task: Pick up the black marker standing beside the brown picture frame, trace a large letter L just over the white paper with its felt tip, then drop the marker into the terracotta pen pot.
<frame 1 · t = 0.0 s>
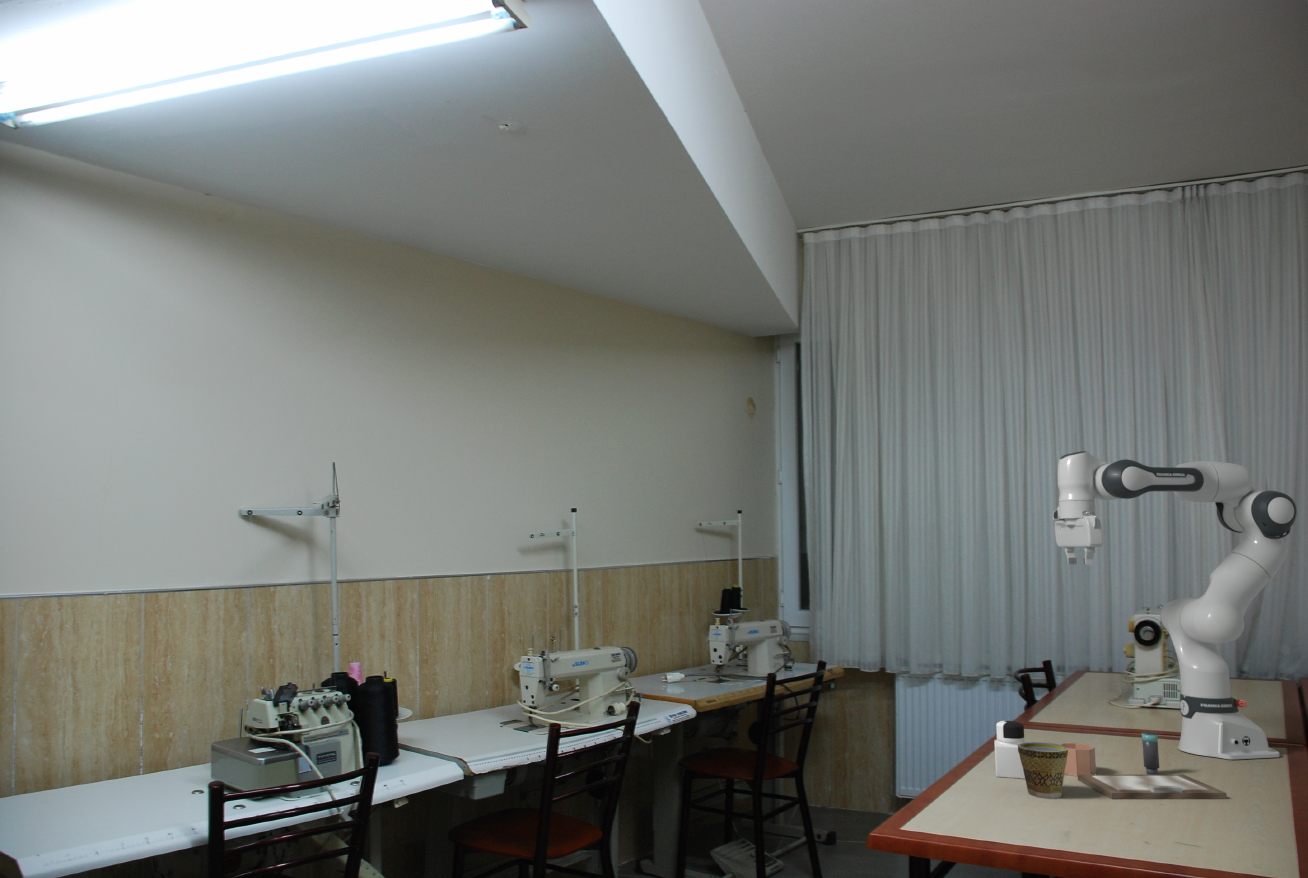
hand: (1080, 564, 245), 48 cm above the table, tool pointing down, fingers open, 8 cm apart
ceramic cup: (1040, 793, 199), on the table
brown picture frame: (1149, 788, 202), on the table
marker: (1152, 773, 216), on the table
pen pot: (1077, 772, 217), on the table
medicine bottle: (1012, 775, 215), on the table
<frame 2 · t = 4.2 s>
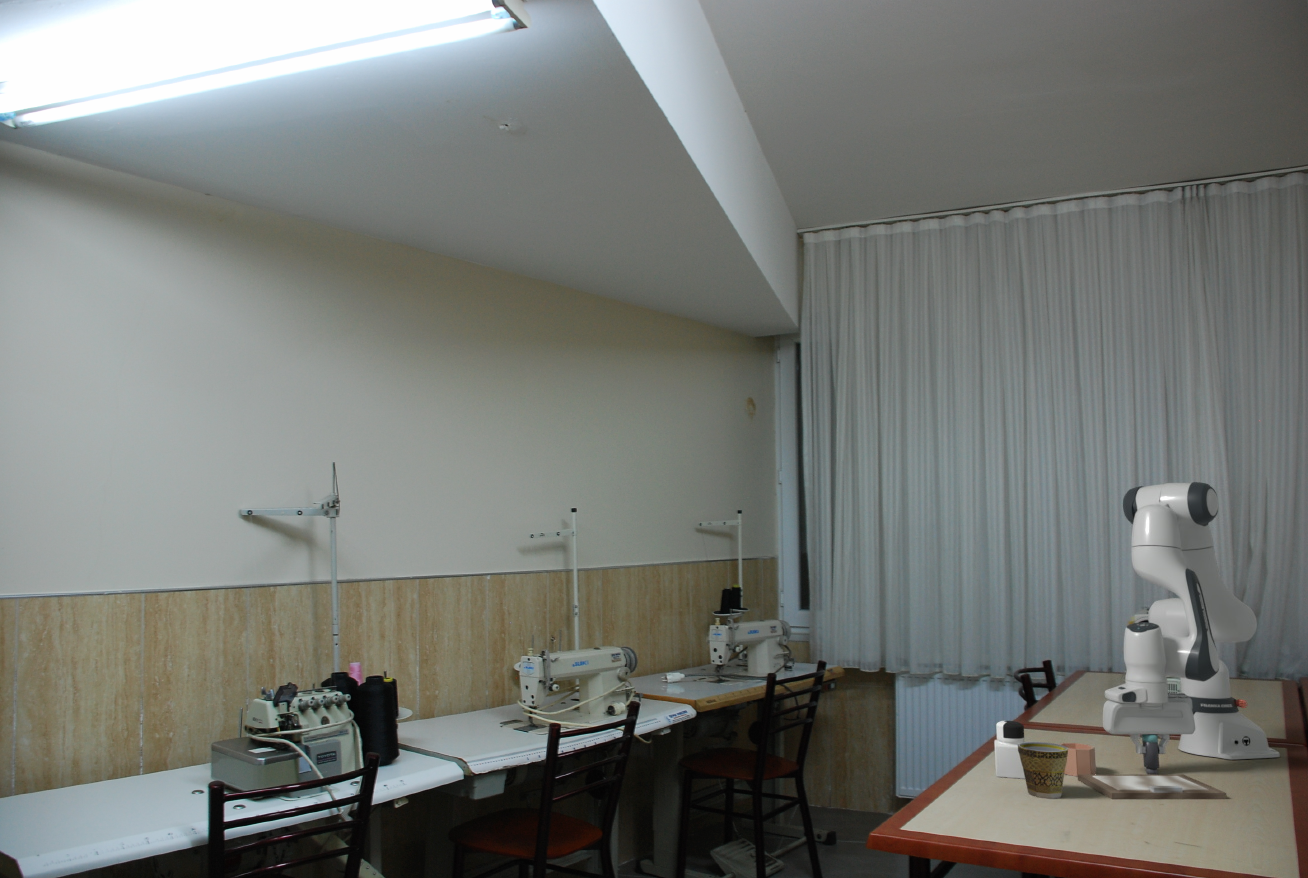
hand: (1150, 753, 217), 5 cm above the table, tool pointing down, fingers closed on marker, 3 cm apart
marker: (1152, 773, 216), on the table, touching gripper
everything else where it was.
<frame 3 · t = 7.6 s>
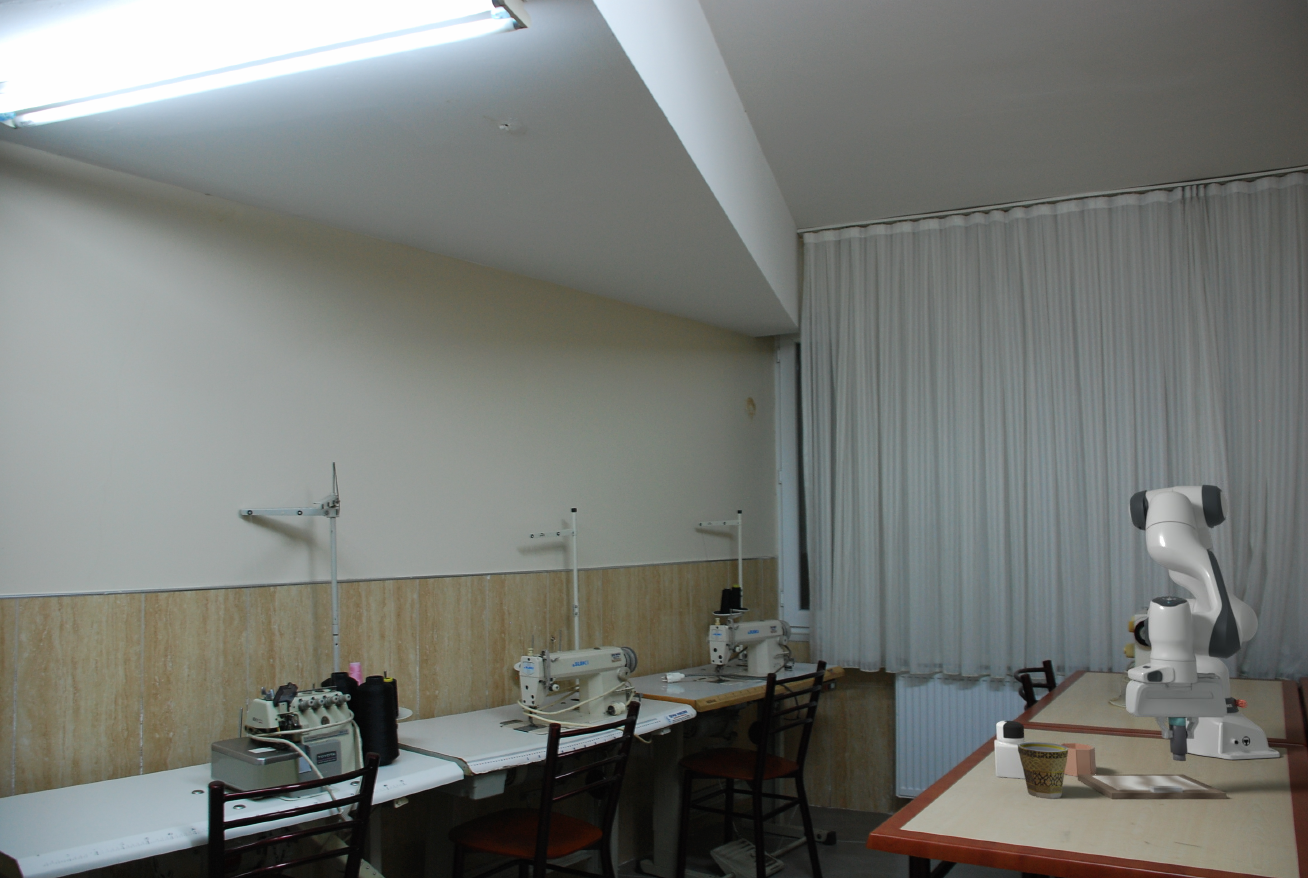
hand: (1178, 738, 200), 12 cm above the table, tool pointing down, fingers closed on marker, 3 cm apart
marker: (1179, 759, 199), point 7 cm above the table, touching gripper
everything else where it was.
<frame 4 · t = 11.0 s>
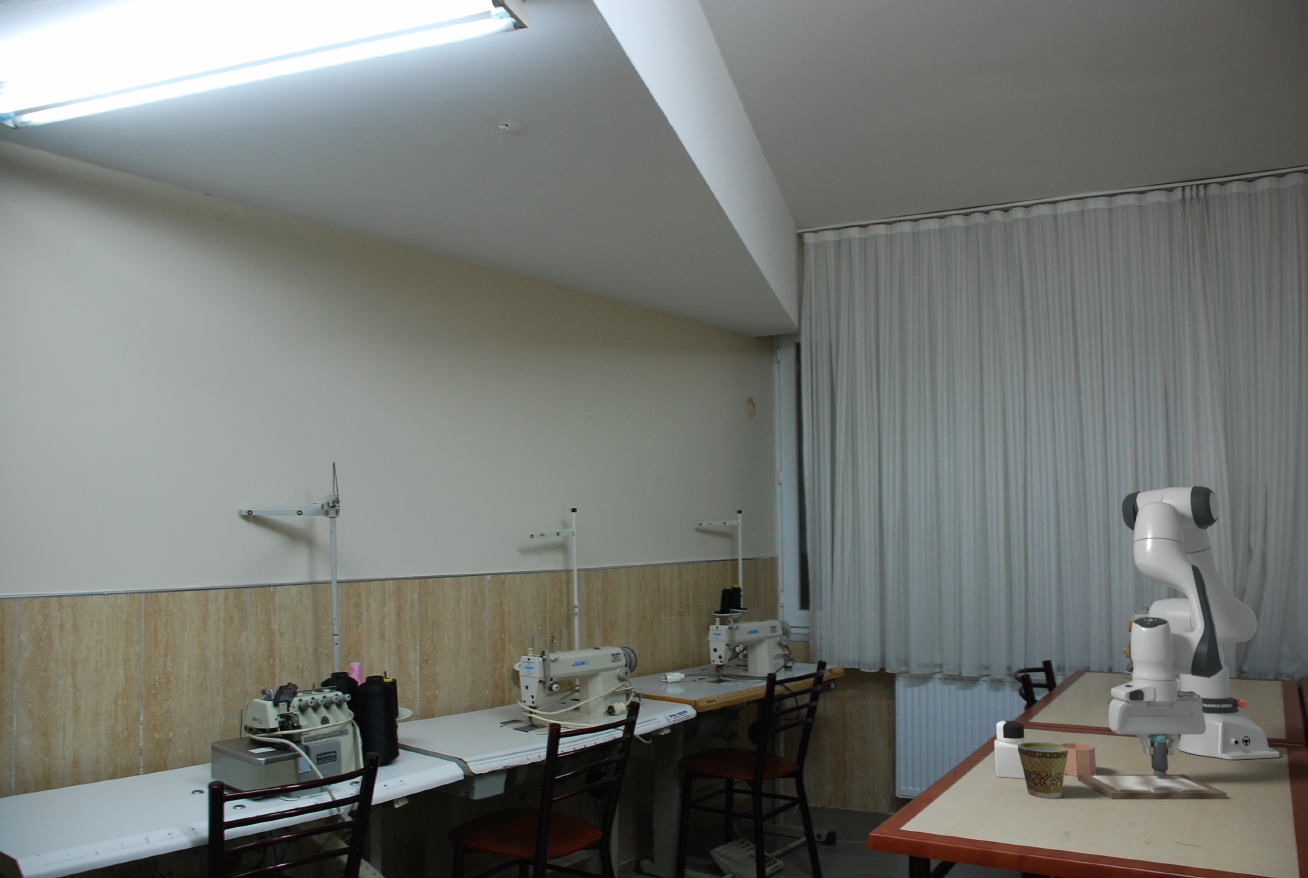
hand: (1158, 754, 207), 6 cm above the table, tool pointing down, fingers closed on marker, 3 cm apart
marker: (1160, 775, 206), point 2 cm above the table, touching gripper
everything else where it was.
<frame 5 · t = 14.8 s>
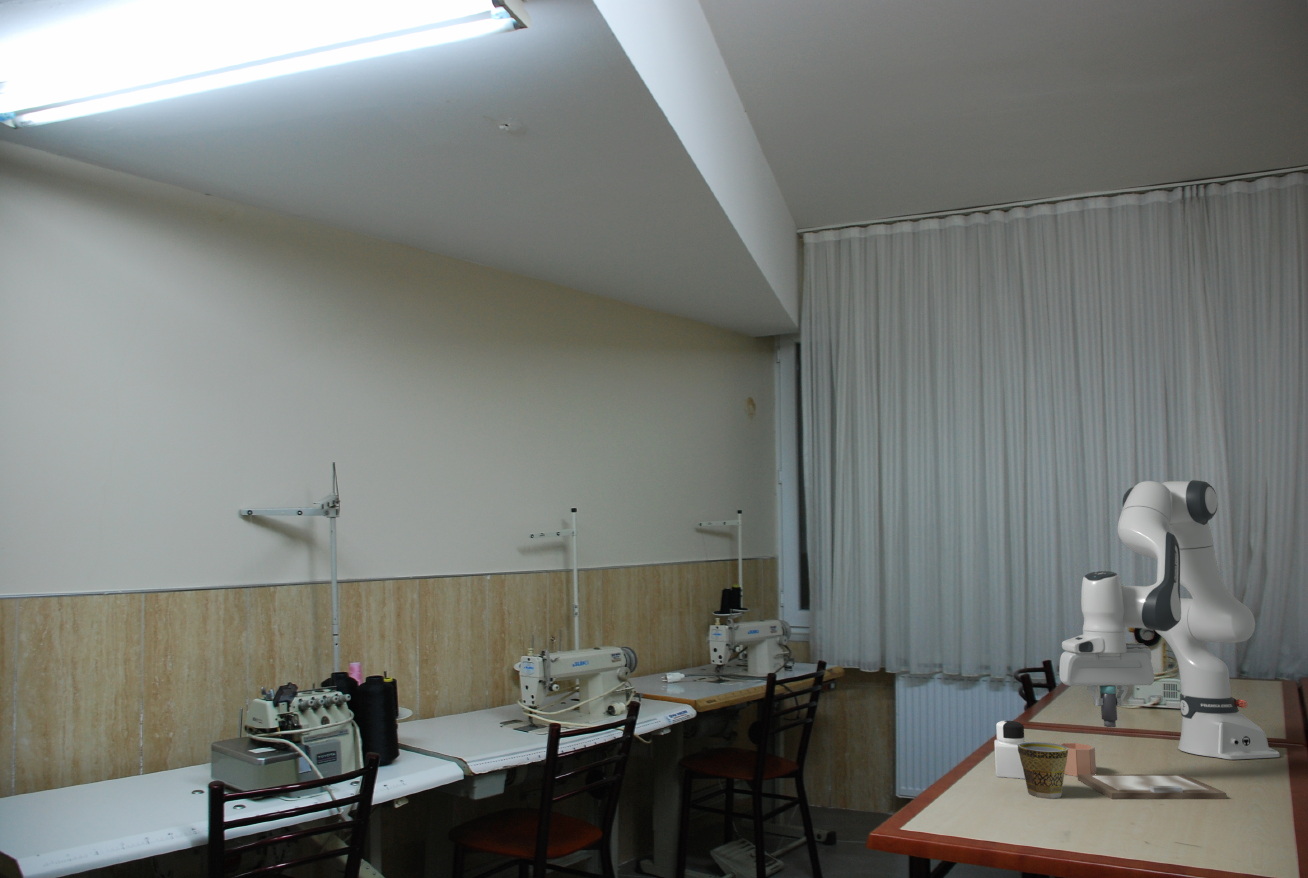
hand: (1108, 705, 210), 17 cm above the table, tool pointing down, fingers closed on marker, 3 cm apart
marker: (1109, 726, 209), point 12 cm above the table, touching gripper
everything else where it was.
when the fingers open (9 cm above the table, at t = 18.3 s): marker drops 4 cm, resting on pen pot.
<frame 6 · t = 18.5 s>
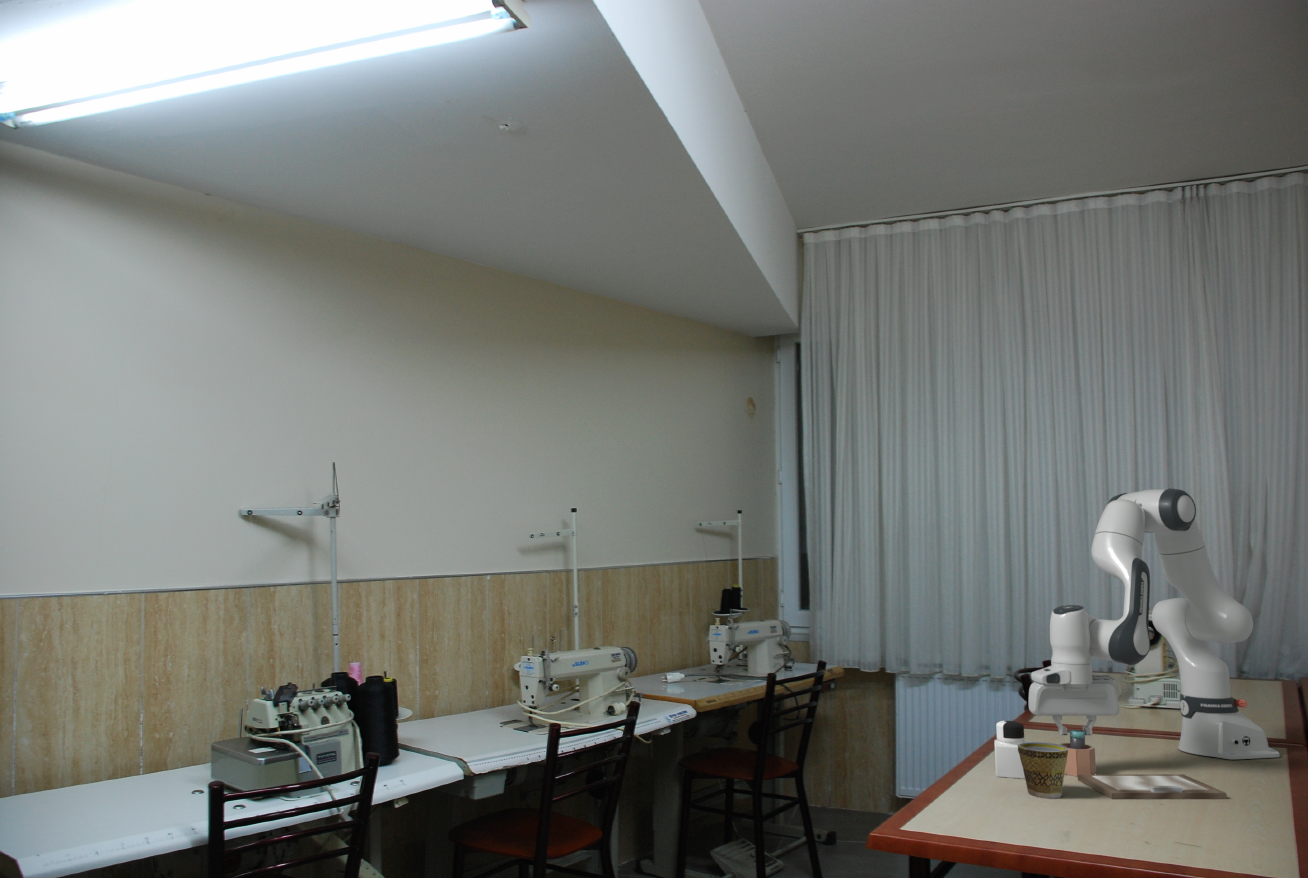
hand: (1075, 734, 218), 9 cm above the table, tool pointing down, fingers open, 4 cm apart
marker: (1077, 770, 217), point 1 cm above the table, touching gripper, pen pot
everything else where it was.
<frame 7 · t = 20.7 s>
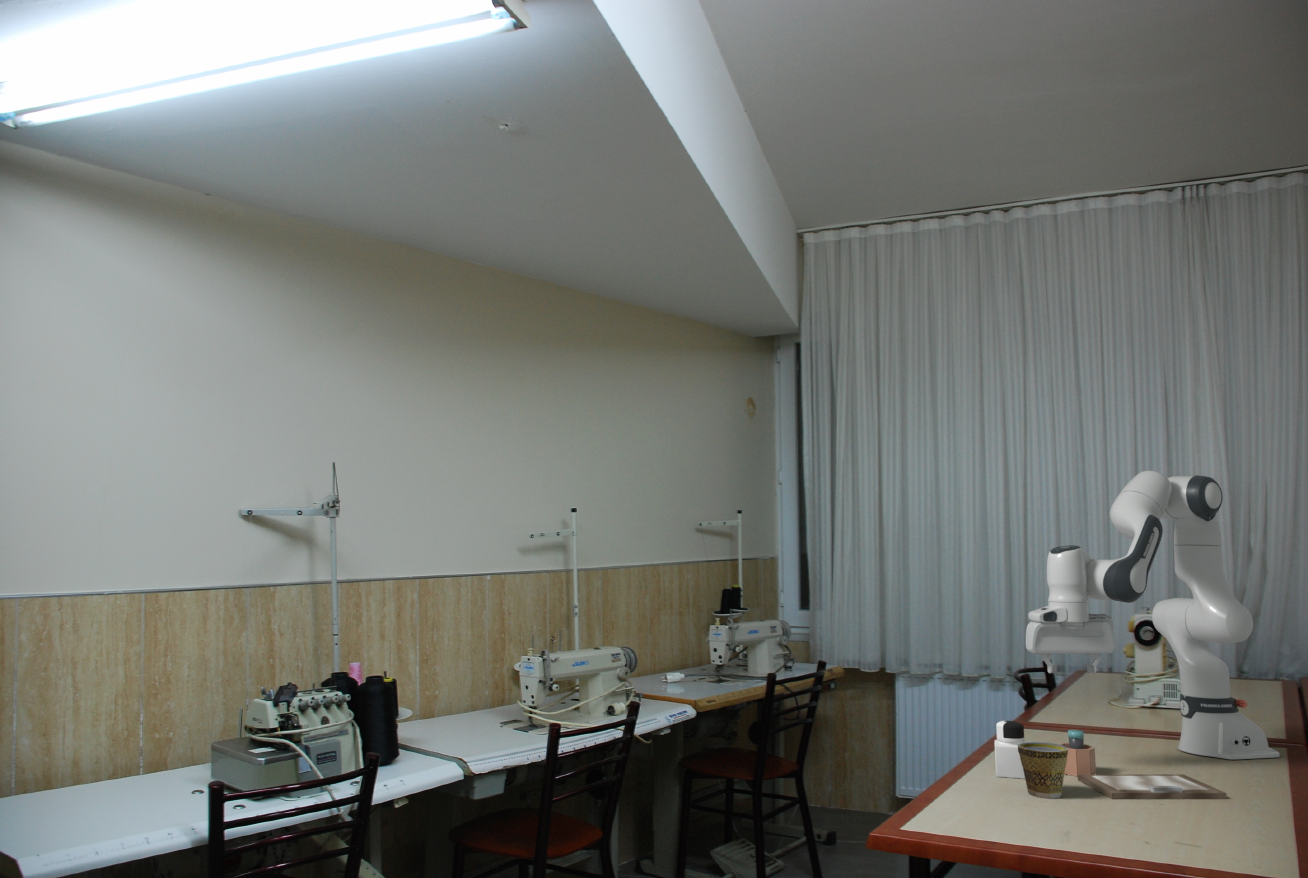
hand: (1072, 672, 220), 23 cm above the table, tool pointing down, fingers open, 8 cm apart
marker: (1077, 770, 217), point 1 cm above the table, touching pen pot
everything else where it was.
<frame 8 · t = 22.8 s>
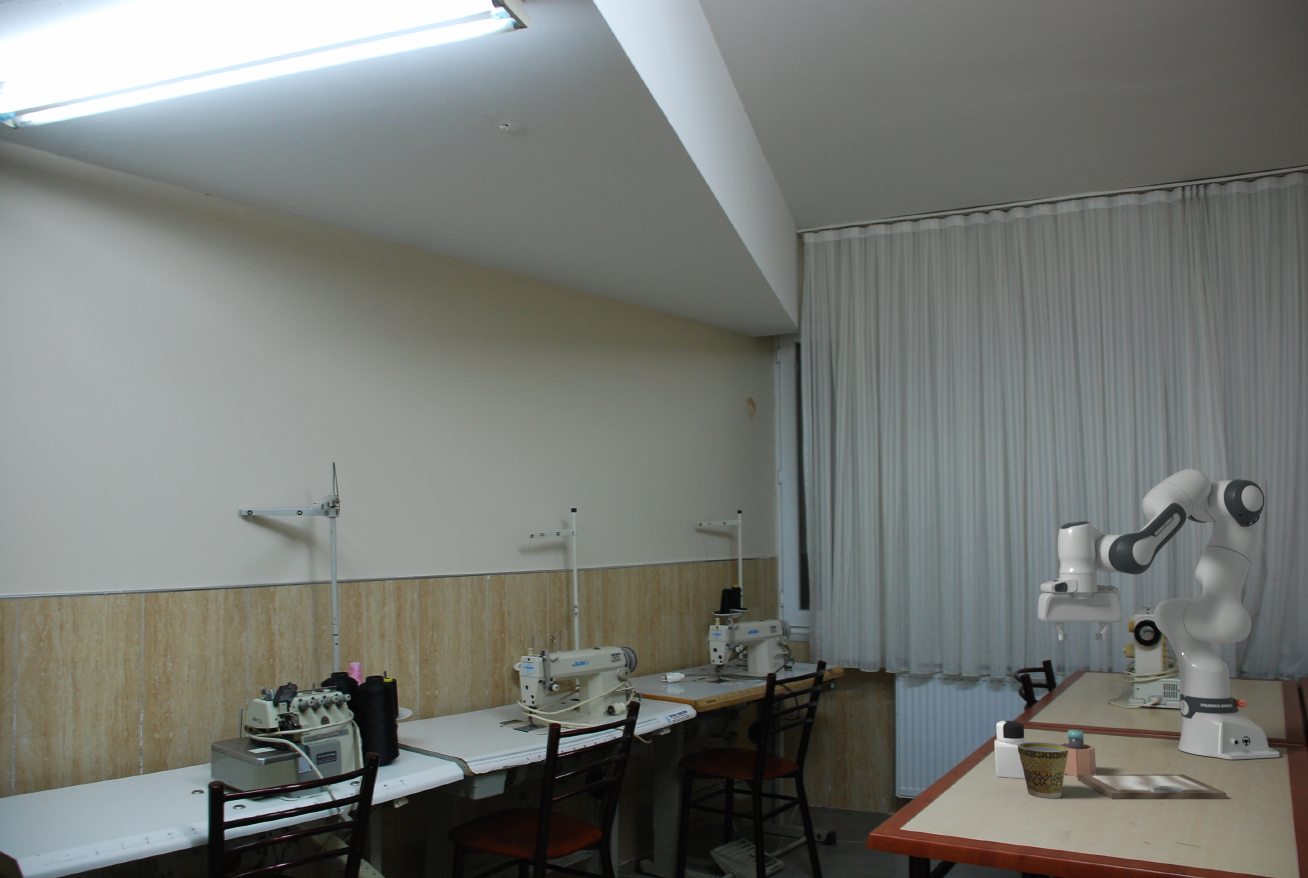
hand: (1081, 640, 235), 29 cm above the table, tool pointing down, fingers open, 8 cm apart
nothing on the table moved.
at the end: marker 0.1 cm off-centre on the pen pot, point 0.5 cm above the pen pot's base; the gripper is holding nothing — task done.
